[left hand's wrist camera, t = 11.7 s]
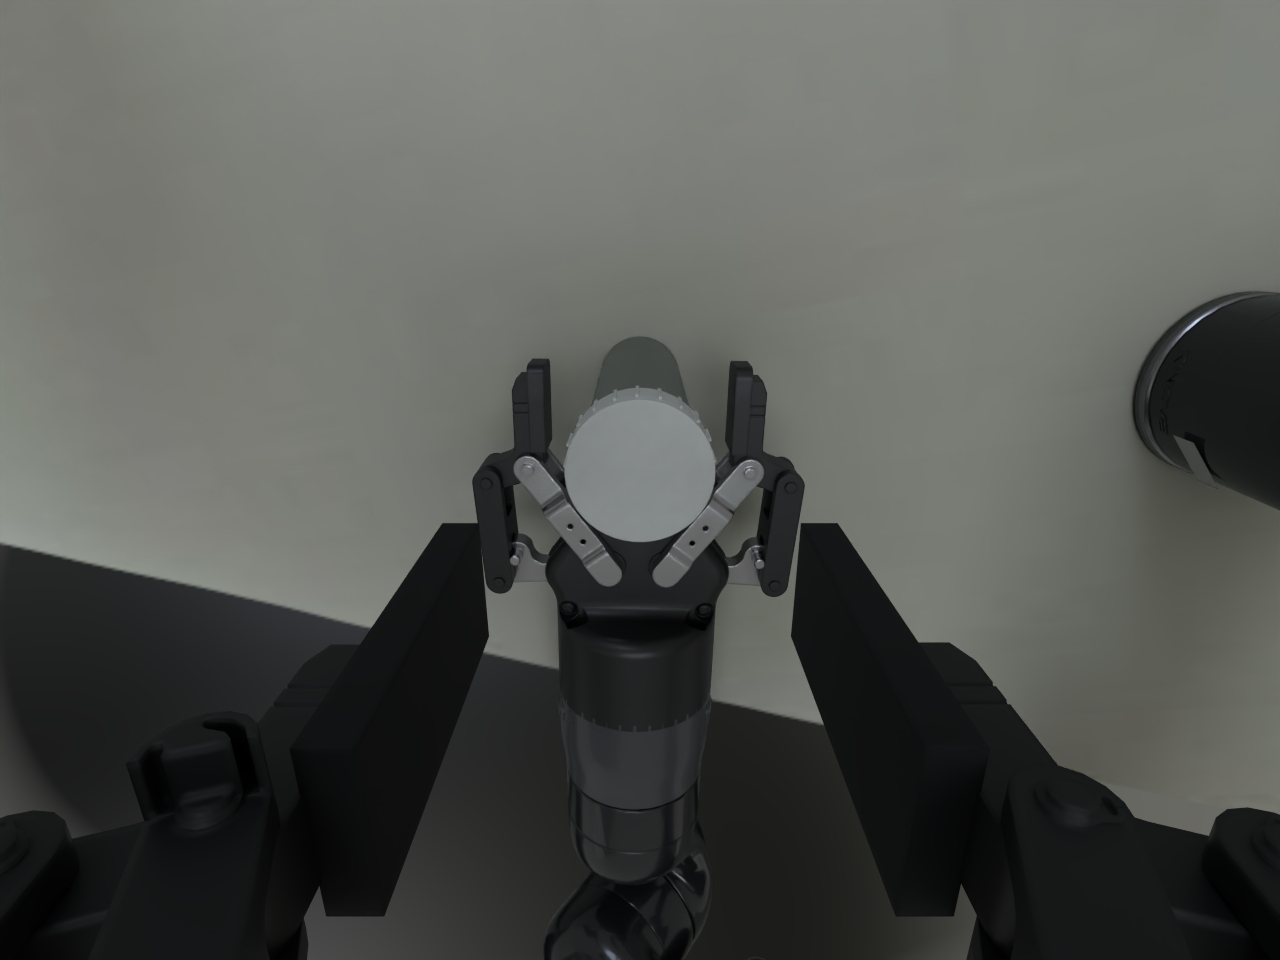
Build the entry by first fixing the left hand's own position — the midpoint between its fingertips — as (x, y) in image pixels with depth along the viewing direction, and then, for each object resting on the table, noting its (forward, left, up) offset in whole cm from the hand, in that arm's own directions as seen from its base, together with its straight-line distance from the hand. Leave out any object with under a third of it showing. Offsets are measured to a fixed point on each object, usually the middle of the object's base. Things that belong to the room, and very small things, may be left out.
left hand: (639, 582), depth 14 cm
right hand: (-1, +2, -16) cm, 16 cm away
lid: (0, 0, -7) cm, 7 cm away
